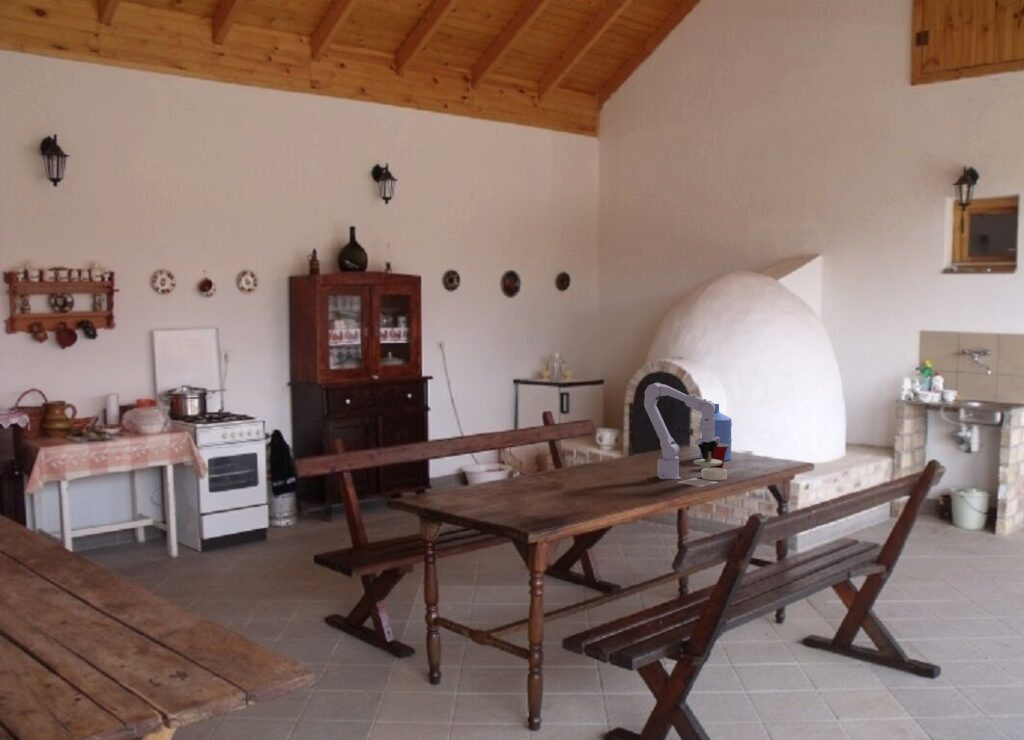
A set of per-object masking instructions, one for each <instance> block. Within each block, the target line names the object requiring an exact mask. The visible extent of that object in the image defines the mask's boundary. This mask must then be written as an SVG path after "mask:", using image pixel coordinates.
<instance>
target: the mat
mask: <svg viewBox="0 0 1024 740" xmlns="http://www.w3.org/2000/svg"><path fill="white" fill-rule="evenodd" d="M676 483H677V484H685V485H689V486H690V485H691V486H695V487H701V488H702V487H705V486H709V485H713V484H717V483H719V481H715V480H707V479H703V478H702V479H701V478H696V477H695V478H694V477H693V478H688V479H685V480H682V481H677V482H676Z"/></svg>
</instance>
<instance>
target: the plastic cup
mask: <svg viewBox="0 0 1024 740" xmlns="http://www.w3.org/2000/svg"><path fill="white" fill-rule="evenodd" d="M728 446H729V445H728V444H724V443H718V445H717V447H716V449H715V451H714V455H713V458H711V459H716V460H721V461H722V464H720V465H716V466H710V468H722V469H724V462H725V461H724V459H725V454H726V450H727V447H728Z"/></svg>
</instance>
